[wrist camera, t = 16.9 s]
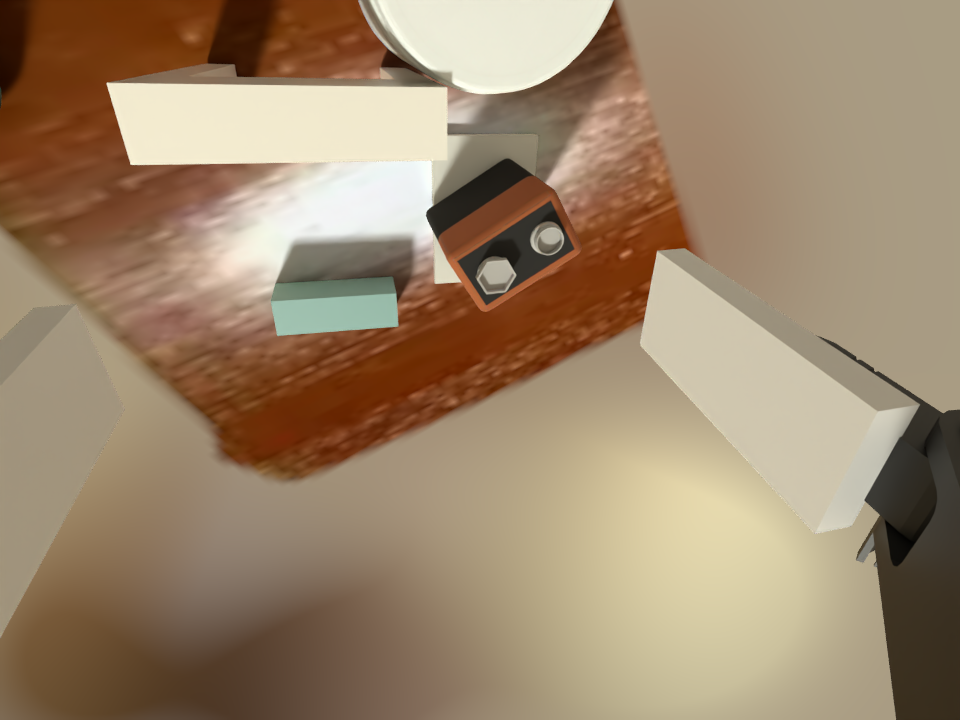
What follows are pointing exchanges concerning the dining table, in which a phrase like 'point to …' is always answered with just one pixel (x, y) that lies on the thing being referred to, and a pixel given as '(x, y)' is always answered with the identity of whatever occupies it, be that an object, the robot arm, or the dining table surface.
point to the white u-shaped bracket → (279, 117)
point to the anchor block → (334, 305)
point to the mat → (474, 173)
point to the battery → (503, 232)
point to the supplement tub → (486, 38)
